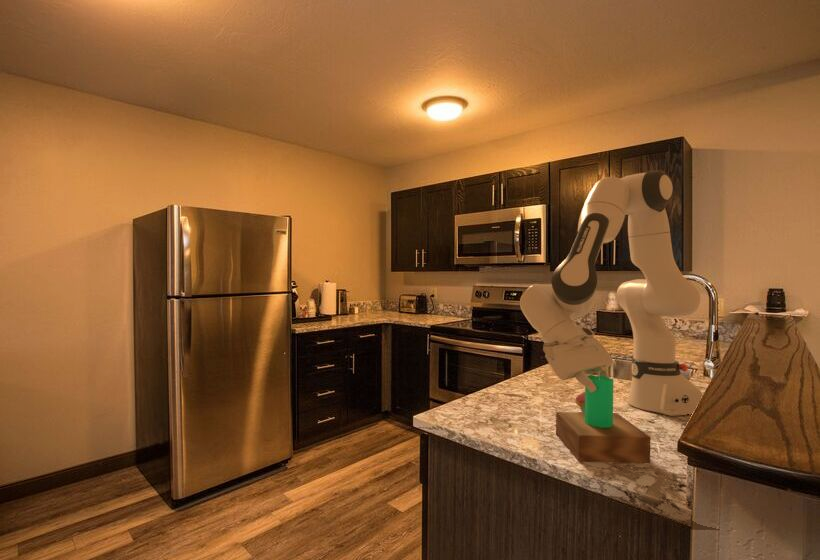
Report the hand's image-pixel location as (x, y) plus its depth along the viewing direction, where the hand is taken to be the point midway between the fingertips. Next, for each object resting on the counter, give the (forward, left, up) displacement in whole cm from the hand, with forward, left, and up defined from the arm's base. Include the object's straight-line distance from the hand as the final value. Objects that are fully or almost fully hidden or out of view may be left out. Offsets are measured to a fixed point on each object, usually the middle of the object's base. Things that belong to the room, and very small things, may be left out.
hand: (602, 388), depth 94 cm
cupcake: (-7, -20, -14) cm, 26 cm away
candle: (+1, 0, -8) cm, 8 cm away
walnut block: (0, 0, -14) cm, 14 cm away
